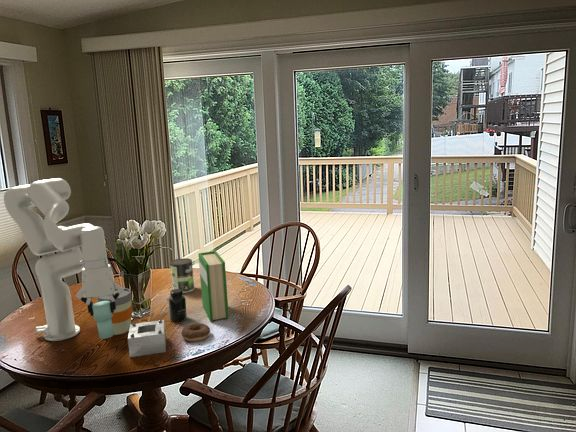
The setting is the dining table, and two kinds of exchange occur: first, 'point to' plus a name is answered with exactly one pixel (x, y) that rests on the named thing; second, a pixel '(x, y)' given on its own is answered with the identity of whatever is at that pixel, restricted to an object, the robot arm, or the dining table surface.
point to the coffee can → (182, 275)
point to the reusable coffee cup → (121, 311)
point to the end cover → (103, 319)
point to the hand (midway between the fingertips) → (102, 312)
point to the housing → (147, 338)
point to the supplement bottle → (177, 306)
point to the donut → (195, 332)
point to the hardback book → (213, 285)
